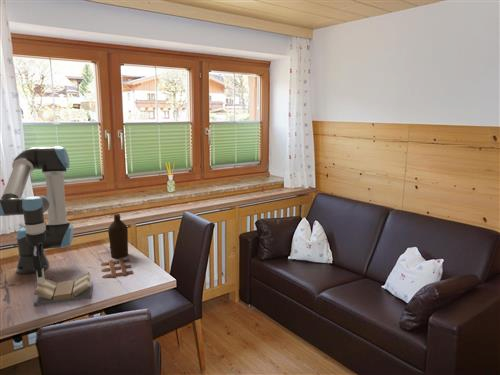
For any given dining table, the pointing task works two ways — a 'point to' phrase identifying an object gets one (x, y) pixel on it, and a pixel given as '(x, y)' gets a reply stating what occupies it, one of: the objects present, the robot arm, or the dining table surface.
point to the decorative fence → (116, 268)
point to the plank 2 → (81, 283)
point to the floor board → (80, 296)
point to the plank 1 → (45, 289)
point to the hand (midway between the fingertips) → (41, 282)
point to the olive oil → (118, 238)
